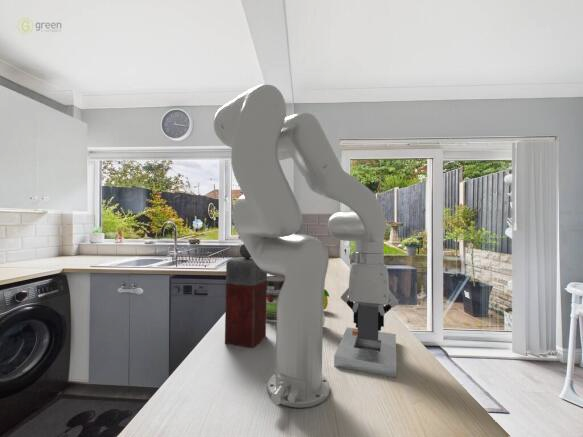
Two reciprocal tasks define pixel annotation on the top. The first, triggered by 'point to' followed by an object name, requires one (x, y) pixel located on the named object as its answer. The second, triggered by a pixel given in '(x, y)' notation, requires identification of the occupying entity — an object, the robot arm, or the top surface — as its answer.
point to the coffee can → (272, 297)
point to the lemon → (325, 299)
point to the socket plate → (367, 353)
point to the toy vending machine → (245, 301)
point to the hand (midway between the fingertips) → (368, 326)
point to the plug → (368, 321)
